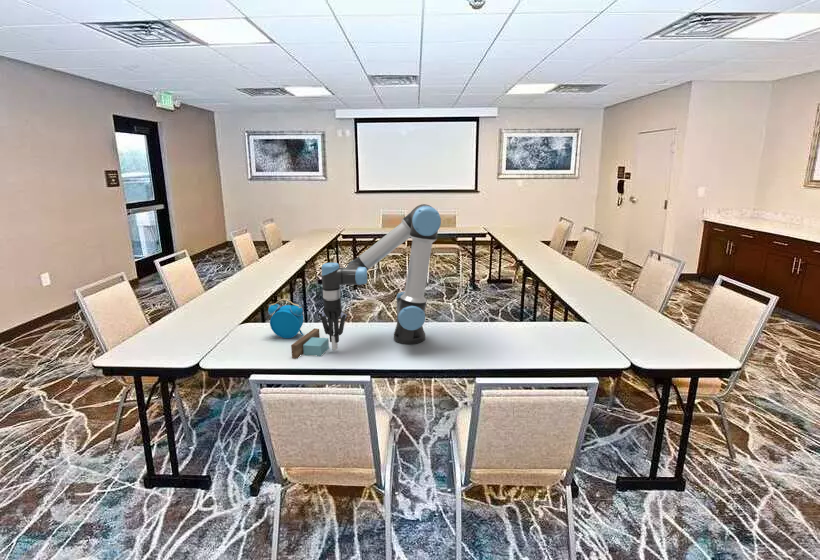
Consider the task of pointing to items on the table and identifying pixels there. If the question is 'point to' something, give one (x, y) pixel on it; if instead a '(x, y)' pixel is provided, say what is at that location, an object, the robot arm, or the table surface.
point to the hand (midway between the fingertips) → (334, 349)
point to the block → (316, 346)
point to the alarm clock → (286, 319)
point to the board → (298, 345)
